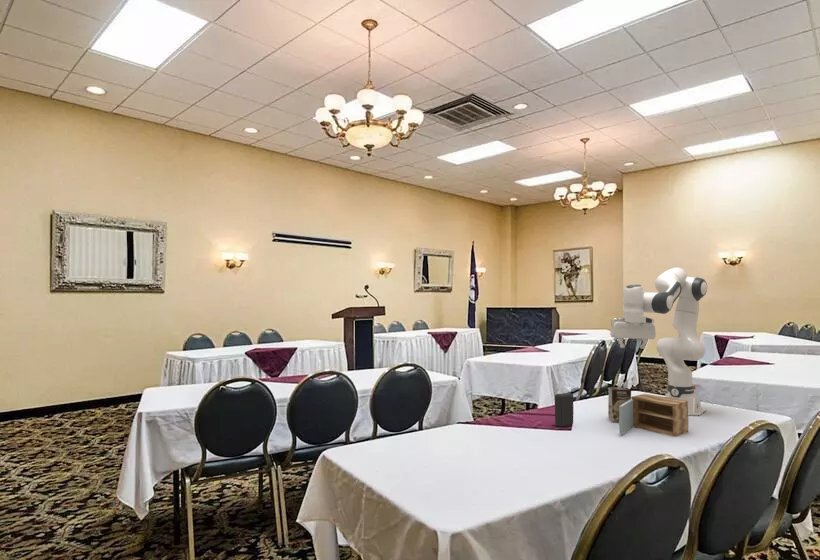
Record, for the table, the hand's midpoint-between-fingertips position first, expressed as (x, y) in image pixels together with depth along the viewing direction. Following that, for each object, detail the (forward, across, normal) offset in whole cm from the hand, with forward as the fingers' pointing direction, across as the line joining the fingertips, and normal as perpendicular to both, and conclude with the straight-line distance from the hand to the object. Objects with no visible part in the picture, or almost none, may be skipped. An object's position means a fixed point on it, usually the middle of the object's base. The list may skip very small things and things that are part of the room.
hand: (632, 348), depth 231 cm
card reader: (+38, -30, +4) cm, 49 cm away
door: (+36, -5, -7) cm, 37 cm away
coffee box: (+37, 0, +12) cm, 39 cm away
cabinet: (+36, +12, -3) cm, 39 cm away
